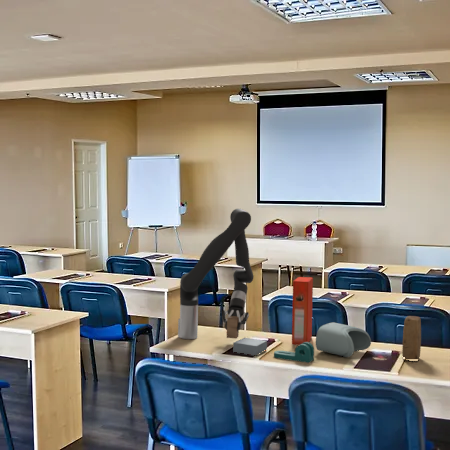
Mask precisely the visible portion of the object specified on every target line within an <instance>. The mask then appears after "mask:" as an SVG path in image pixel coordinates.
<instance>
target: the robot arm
mask: <svg viewBox="0 0 450 450" xmlns="http://www.w3.org/2000/svg"><path fill="white" fill-rule="evenodd" d="M229 217H230V224H229V225H228V227H227V228H226V229H225V230H224V231H222V232H221V233H220V234H218V235H217V236H215V238H213V240H211V241H210V243H208V245H207V246H206V248H205V249H204V250H203V251H202V254H201V255H200V257H199V259H198V261H197V263H196V264H195V265H194V267H193V268H192V269H191V270H190V271H189V272H186V273H184V274H183V275H181V278H180V280H179V281H180V283H179V288H180V289H179V300H180V302H179V304H180V305H179V306H180V307H179V318H178V319H177V321H178V322H177V323H178V324H177V326H178V327H177V338H180V339H183V340H194V339H197V338H198V333H199V332H198V326H199V325H198V324H199V322H198V321H199V294H198V293H199V286H200V285H201V283H202V282H203V281H204V279H205V277H206V276H207V274H208V273H209V272H210V271H211V270H212V269H213V268H214V267H215V266H216V264H218V262H219V261H220V260H221V258H223V257H224V255H225V253H226V252H227V251H228V249H230V248H231V246H232V244H233V243H234V250H235V264H236V266H238V267H242V268H243V269H236V270H235V271H234V272H233V273H232V274H233V277H232V278H233V285H234V286H233V290H232V295H231V297H230V298H231V299H230V302H229V306H228V309H227V310H225V309H222V310H221V312H222V313H221V314H222V322H223V323H225V324H224V328H225V330H226V331H227V318H228V317H229V316H237V317H239V320H238V321H239V322H238V325H237V331H240V330H241V327H242V325H245V324H246V323H247V321H248V319H249V316H250V315H249V314H250V313H249V311H246V312H245V305H246V301H247V293H248V288H249V287H248V286H247V284H250V283H253V281H254V276H255V275H254V272H253V269H252V266H251V263H250V252H249V245H248V242H247V238H246V237H247V236H246V229H247V228H248V227H249V225H250V224H251V221H252V216H251V214H250V213H249V212H248V211H246V210H244V209H243V208H235V209H233V210H232V212H231V213H230V216H229ZM227 314H228V315H227ZM226 316H227V318H226ZM241 317H243V318H241ZM241 319H242V320H241Z"/></svg>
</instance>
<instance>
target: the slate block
mask: <svg viewBox="0 0 450 450" xmlns="http://www.w3.org/2000/svg"><path fill="white" fill-rule="evenodd" d="M267 347H268V340H261V339H257V338H256V339H255V338H250V337H243V338H241V339H238V340H236V341H234V342H233V347H232V348H233V349H232V351H233V352H232V353H234V352H237V353H236V354H240V353H244V354H243V355H247V354H251V355H250V356H254V355H257V354H259V353H261V352H262V351H264V350H266V349H267ZM261 354H262V353H261ZM259 355H260V354H259ZM257 356H258V355H257Z"/></svg>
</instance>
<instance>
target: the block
mask: <svg viewBox="0 0 450 450" xmlns="http://www.w3.org/2000/svg"><path fill="white" fill-rule="evenodd" d="M421 321H422V320H421V317H420V316H416V315H407V316H406V317H405V319H404V322H403V323H404V324H403V333H402V349H401V350H402V352H401V353H402V356H403V357H405V358H406V359H419V360H420V358H421V348H422V347H421V346H422V322H421ZM402 356H401V357H402ZM403 357H402V358H403ZM419 357H420V358H419Z"/></svg>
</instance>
